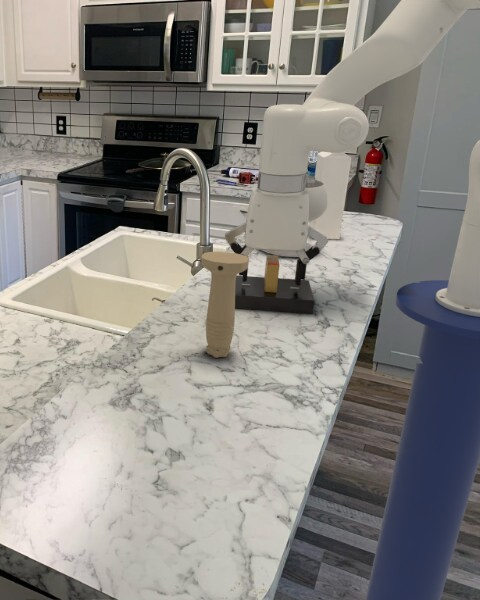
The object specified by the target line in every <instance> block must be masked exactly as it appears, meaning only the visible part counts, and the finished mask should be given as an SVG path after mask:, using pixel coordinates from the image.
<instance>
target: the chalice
mask: <svg viewBox="0 0 480 600" xmlns="http://www.w3.org/2000/svg"><path fill="white" fill-rule="evenodd" d="M305 190H307V191H308V194H309V222H310V221H313V220H315V219H317V218H319V217H320V216H321V215H322V214H323V213H324V212H325V210H326V208H327V192H326V188H325V186H324V184H323V183H322V182H320V181H317V180H315V184H314V185H309V186H307V187H305ZM313 246H314V245H312V244H310V243H308V242H307V243H306V247H305V248H304V249H305V251H307V250H309V249H310V248H311V247H313ZM262 251H263V252H265V253H267V254H269V255H275V256H281V257H288V258H289V257H292V258H293V257H294V258H295V257H298V258H299V256H298V255H297V253H296V252H295V251H278V250H262Z"/></svg>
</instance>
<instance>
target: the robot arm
mask: <svg viewBox="0 0 480 600" xmlns="http://www.w3.org/2000/svg"><path fill="white" fill-rule="evenodd" d="M473 9H475V10H476V9H477V10H478V9H480V0H400V1H399V2H398V4H397V5H396V6H395V7H394V9H393V10H392V11H391V12H390V14H389V15H388V16H387V17H386V19H385V20H384V21H383V22H382V23H381V25H379V26H378V28H377V29H376V30H375V32H374V33H372V35H371V36H369V37H368V38H367V39H366V40H365V41H363V42H362V43H360V44H359V46H357V47H356V48H355V49H354V50H352V51H351V52H350V53H349V54H348V55H347V56H346V57H344V58H343V59H342V60H341V61H340V62H338V63H337V64H336V65H335V66H334V67H333V68H332V69H331V70H329V72H328V73H327V74H326V75H325V76H324V77H323V78H322V79H321V80H320V82H319V83H318V84H317V85H316V87H315V88H314V89H313V90H312V92H310V94H309V95H308V97H307V98H306V99H305V101H304V102H303V103H302V104H296V103H295V104H293V103H291V104H290V103H285V104H284V103H282V104H275V105H274V104H273V105H271V106H268V108H266V110H265V111H264V114H263V119H262V130H261V131H262V132H261V142H260V143H261V144H260V154H259V163H258V173H257V174H258V177H257V186H256V187H254V188H252V189H251V194H250V197H249V201H248V205H247V206H248V207H247V214H246V219H245V222H243V223H241V224H239V225H237V226H235V227H234V228H232V229H229V230H228V231H225V232H224V238H225V240H226V242H227V244H228V245H229V247H230V249H231V251H232V252H233V253H236V254H240V255H244V256H247V257H248V258H249V256H250V254H251V253H252V252H253V251H254V250H259V251H263V250H278V251H295V252H296V253H297V255H298V256H299V257H298V259H296V265H295V275H294V279H295V283H296V285H299V286H300V284H301V280H306V274H307V266H308V264H309V263H310V261H311V260H313V259H314V258H315V257H317V256H318V255H319V254H320V253H321V251H322V250H323V249H325V247H326V246H327V244H328V243H329V239H327V237H325V236H324V235H322V234H321V233H319V232H318V231H316V230H315V229H313V228H312V227H310V226H309V194H308V191H307V190H305V187H307V186H309V185H314V184H315V176H311V175H309V174H308V173H307V171H308V165H309V164H308V163H309V156H310V152H311V151H312V152H329V153H349V152H350V151H351V152H352V151H353V150H356V149H357V148H358V147H360V146H361V145H362V144H363V143H364V142H365V140H366V138H367V136H368V134H369V131H370V124H369V123H370V122H369V119H368V117H367V116H366V113H364V111H362V109H360V108H359V107H357V106H355V105H356V104H357V103H358V102H359V101H360V100H361V99H363V98H364V97H365V96H366V95H367V94H368V93H370V92H371V91H373V90H374V89H376V88H377V87H379V86H381V85H383V84H385V83H387V82H390V81H392V80H394V79H396V78H399V77H401V76H403V75H405V74H407V73H409V72H411V71H412V70H414V69H416V68H417V67H419V66H420V65H421V64H422V63H423V62H424V61H425V60H426V59H427V58H428V56H429V55H430V54H431V53H432V51H433V50H434V49H435V48H436V47H437V46H438V44H439V43H440V42H441V40H443V38H444V37H445V36H446V34H447V33H448V32H449V31H450V30H451V29H452V28H453V26H455V24H456V23H457V22H458V21H459V20H460V18H461V17H462V16H463V15H464V14H465V13H466V11H468V10H473ZM467 189H468V190H467V196H466V203H465V208H464V212H463V217H462V220H461V225H460V229H459V235H458V238H457V243H456V247H455V253H454V257H453V261H452V266H451V269H450V274H449V278H448V281H449V283H448V287H447V288H445V289H441V290H439V291H438V292H437V293H436V297H435V300H436V301H437V303H438V304H440V305H441V306H443V307H444V308H447V309H449V310H451V311H454V312H457V313H461V314H465V315H469V316H475V317H480V139H478V140H477V142H476V143H475V144H474V146H473V147H472V150H471V153H470V156H469V160H468V188H467ZM242 234H244V243H245V244H244V245H242V246H241V244H239V243H238V242H237V239H236V237H238V236H240V235H242ZM308 236H309V237H310V238H312V239H313V240H314V241H316V242H315V243H314V245H312V246H313V247H311V248H310V249H309V250H307V251H305V249H304V248H305V247H306V243H308ZM249 259H250V258H249ZM248 271H249V267H248V268H247V269H246V270H245V271H243V272H241V273H238V276H243V282H246V281H247V276H248Z"/></svg>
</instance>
